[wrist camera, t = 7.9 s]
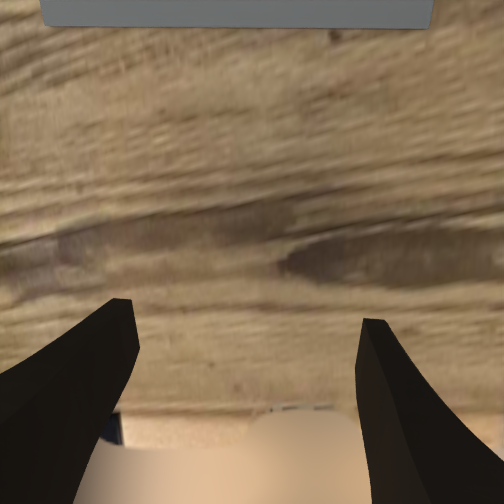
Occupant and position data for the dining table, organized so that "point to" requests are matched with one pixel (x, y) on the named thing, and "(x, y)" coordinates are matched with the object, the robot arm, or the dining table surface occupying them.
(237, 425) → the dining table surface
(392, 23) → the mat
